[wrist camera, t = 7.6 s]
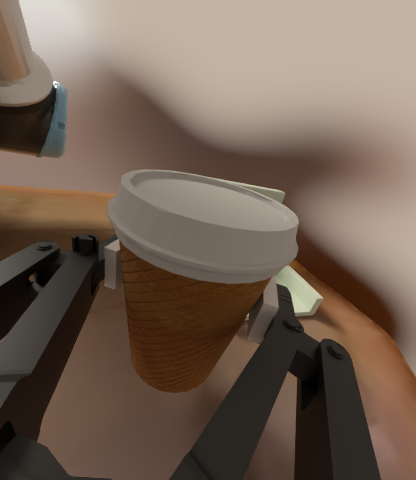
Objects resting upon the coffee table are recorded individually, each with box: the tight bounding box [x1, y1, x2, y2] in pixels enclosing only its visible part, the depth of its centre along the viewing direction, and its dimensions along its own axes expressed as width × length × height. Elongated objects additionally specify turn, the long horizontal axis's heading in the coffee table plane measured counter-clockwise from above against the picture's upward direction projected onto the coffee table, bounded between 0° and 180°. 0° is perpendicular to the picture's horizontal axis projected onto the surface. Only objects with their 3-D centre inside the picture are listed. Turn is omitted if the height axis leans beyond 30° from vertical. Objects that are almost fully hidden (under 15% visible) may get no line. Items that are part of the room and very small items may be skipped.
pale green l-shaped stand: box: [209, 177, 324, 320], centre depth 32 cm, size 18×15×14 cm
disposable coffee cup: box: [107, 170, 299, 393], centre depth 13 cm, size 10×10×12 cm
